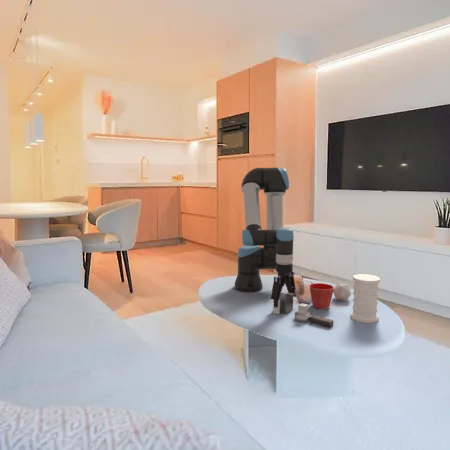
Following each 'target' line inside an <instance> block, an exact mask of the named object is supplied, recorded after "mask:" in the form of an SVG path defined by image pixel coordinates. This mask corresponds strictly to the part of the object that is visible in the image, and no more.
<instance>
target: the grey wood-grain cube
mask: <svg viewBox="0 0 450 450" xmlns="http://www.w3.org/2000/svg"><path fill="white" fill-rule="evenodd" d="M279 300H280V313H281V314H285V315H286V314H288V313H290V312H292V311H293V310H294V294H293V295H290V294H287V292H281V294H280V297H279ZM272 309H273V312H274V306H273V308H272Z"/></svg>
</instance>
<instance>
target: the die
mask: <svg viewBox="0 0 450 450" xmlns="http://www.w3.org/2000/svg"><path fill="white" fill-rule="evenodd" d="M333 295H334V298H335V301H341V302H348V300H349V298H350V296H351V295H352V292H351V288H350V286H349V284H347V283H340V282H338V283H336V284H335V286H334V290H333Z"/></svg>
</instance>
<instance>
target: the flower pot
mask: <svg viewBox="0 0 450 450" xmlns="http://www.w3.org/2000/svg"><path fill="white" fill-rule="evenodd" d="M334 288H335V286H334V285H331V284H328V283H322V282H320V283H319V282H316V283H311V284H309V289H310V290H309V291H310V299H311V303H312V307H314V308H316V309H320V310H327V309H329V308H330V306H331V303H332V300H333V299H332V297H333V295H334V293H333V290H334Z"/></svg>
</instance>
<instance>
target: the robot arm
mask: <svg viewBox="0 0 450 450" xmlns="http://www.w3.org/2000/svg"><path fill="white" fill-rule="evenodd" d="M289 181H290V180H289V174H288V171H287V169H286V168H284V167H255V168H253V169H250V171H248V172H247V173H246V174H245V175H244V177H243V178H242V182H241V193H242V194H243V201H244V203H243V205H244V222H245V223H244V224H245V225H244V226H245V229H243V230H241V242H242V246H240V247H239V248H238V250H237V276H236V278H235V281H234V289H235V290H236V291H239V292H247V293H254V292H255V293H256V292H259V291H261V290H263V286H264V285H263V282H262V279H261V275H260V270H275V271H276V272H277V276H273V284H272V290H271V294H270V299H271V300H273V307H274V311H273V314H276V315H280V300H279V297H280V294H281V293H282V291H283V287H284V286H285V287H286V289H287V291H286V294H290V295H293V296H294V294H296V282H295V276H294V274H295V273H294V271H293V267H294V264H293V262H294V261H293V260H294V237H295V236H294V230H293V228H289V227H283V225H284V224H283V221H284V220H283V218H284V217H283V215H284V214H283V213H284V211H283V210H284V208H283V206H284V205H283V204H284V202H283V201H284V200H283V199H284V198H283V197H284V196H285V194H286V193H287V192H286V191H287V190H289V188H290V185H289V184H290V182H289ZM260 191H263V194H264V195H265V197H266V229H262V219H261V217H262V216H261V208H260V196H259V193H260ZM261 246H263V247H261Z"/></svg>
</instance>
